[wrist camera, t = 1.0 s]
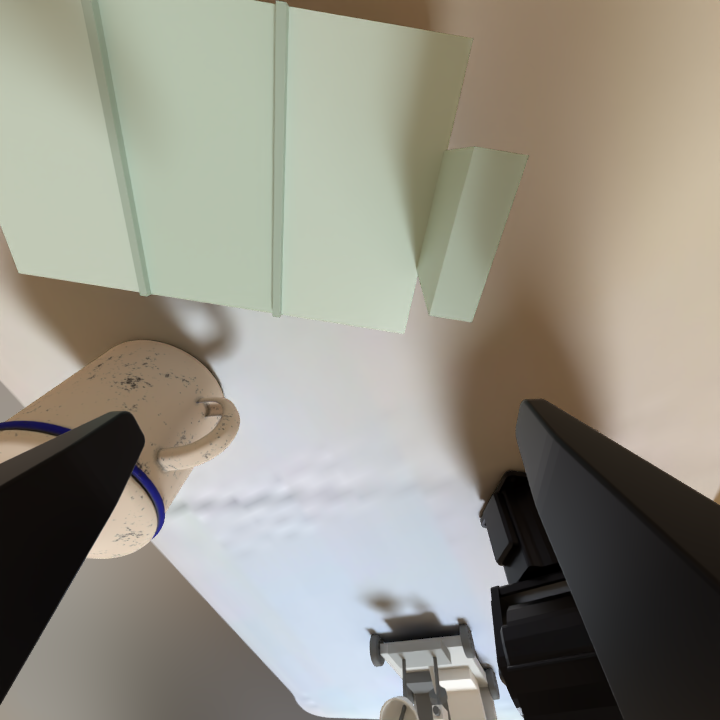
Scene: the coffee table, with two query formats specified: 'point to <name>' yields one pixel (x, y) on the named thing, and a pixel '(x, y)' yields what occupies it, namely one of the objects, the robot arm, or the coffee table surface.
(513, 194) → the lid
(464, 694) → the toy rover
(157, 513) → the teacup with lid
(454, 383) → the coffee table surface
